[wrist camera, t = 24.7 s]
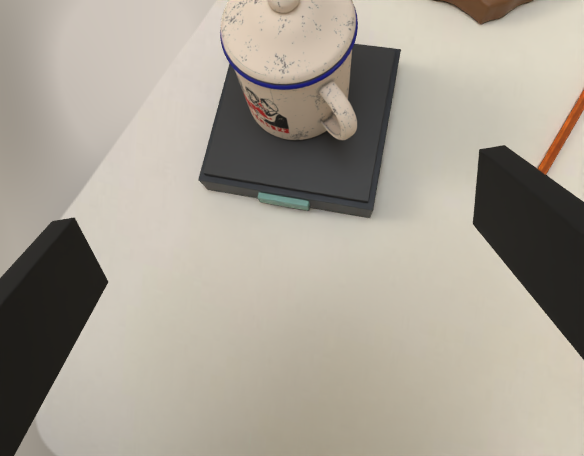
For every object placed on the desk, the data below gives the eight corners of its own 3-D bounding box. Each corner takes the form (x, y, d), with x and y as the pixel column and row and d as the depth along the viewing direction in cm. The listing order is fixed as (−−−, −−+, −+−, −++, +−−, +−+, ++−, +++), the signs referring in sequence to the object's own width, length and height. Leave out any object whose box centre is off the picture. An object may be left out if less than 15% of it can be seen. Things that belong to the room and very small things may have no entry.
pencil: (516, 203, 34) (519, 201, 34) (609, 43, 37) (614, 38, 36) (524, 208, 34) (529, 206, 33) (618, 47, 36) (623, 42, 36)
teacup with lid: (226, 86, 36) (178, -22, 24) (311, 31, 36) (302, -101, 25) (303, 192, 33) (289, 125, 21) (393, 130, 33) (426, 33, 22)
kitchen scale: (205, 194, 37) (194, 183, 34) (244, 48, 40) (237, 25, 37) (368, 223, 35) (372, 214, 32) (396, 67, 38) (402, 44, 35)
